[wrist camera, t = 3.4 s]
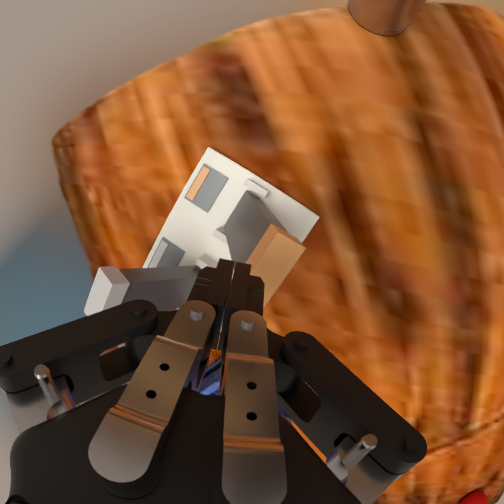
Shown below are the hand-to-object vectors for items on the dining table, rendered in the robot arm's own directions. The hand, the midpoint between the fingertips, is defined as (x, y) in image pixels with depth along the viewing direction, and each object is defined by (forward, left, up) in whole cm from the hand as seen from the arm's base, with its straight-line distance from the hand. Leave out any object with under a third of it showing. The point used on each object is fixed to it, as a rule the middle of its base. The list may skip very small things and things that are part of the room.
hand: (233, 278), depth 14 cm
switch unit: (+1, -7, -25) cm, 26 cm away
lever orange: (-2, -2, -21) cm, 22 cm away
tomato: (+102, +31, -25) cm, 109 cm away
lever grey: (+4, -11, -21) cm, 25 cm away
